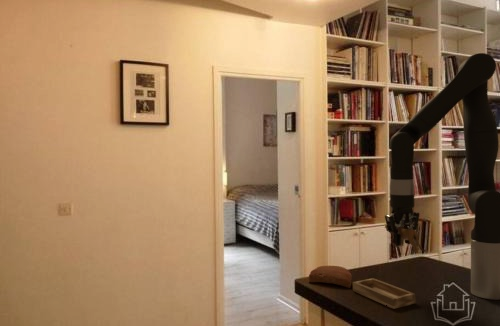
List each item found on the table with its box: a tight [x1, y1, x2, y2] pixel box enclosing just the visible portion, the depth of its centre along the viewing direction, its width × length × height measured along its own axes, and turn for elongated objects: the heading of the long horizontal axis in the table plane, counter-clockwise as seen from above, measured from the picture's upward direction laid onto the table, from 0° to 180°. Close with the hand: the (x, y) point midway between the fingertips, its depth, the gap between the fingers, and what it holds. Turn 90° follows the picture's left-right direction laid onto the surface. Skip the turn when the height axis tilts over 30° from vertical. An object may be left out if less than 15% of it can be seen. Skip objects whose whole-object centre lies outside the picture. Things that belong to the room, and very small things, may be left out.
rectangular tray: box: [352, 277, 416, 310], centre depth 121 cm, size 9×17×3 cm, turn 27°
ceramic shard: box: [308, 265, 353, 289], centre depth 139 cm, size 15×6×15 cm
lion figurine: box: [384, 223, 426, 254], centre depth 127 cm, size 15×5×9 cm, turn 29°
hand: (402, 244), depth 128 cm, fingers closed on lion figurine, 4 cm apart
